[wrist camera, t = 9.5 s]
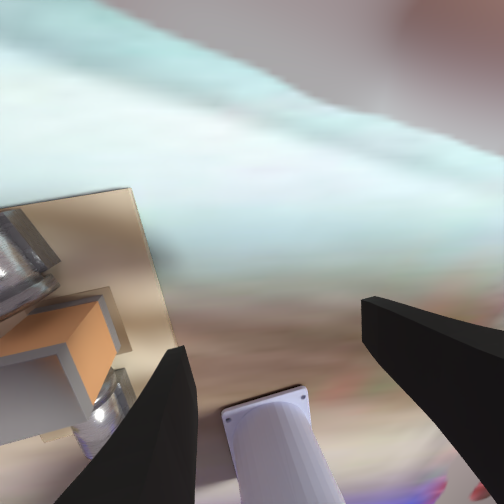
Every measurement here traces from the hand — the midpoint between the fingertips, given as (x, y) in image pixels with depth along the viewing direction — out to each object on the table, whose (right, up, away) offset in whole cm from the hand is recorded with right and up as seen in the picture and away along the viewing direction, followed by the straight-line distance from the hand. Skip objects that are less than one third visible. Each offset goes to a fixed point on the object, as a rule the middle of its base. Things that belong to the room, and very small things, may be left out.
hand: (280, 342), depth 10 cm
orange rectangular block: (-13, -2, +7) cm, 15 cm away
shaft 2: (-12, -6, +10) cm, 17 cm away
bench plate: (-13, -1, +8) cm, 15 cm away
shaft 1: (-15, +3, +6) cm, 17 cm away
